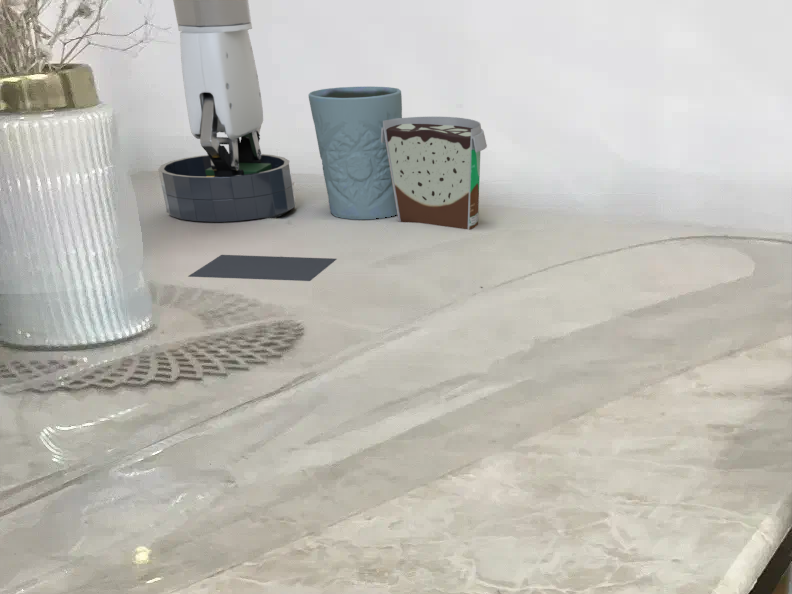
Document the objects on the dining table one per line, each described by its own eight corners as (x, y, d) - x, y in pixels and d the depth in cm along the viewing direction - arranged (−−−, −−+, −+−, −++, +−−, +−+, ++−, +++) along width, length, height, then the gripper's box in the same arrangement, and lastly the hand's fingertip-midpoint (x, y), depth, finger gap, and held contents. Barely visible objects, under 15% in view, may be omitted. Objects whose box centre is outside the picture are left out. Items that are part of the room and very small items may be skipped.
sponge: (211, 209, 128) (204, 169, 125) (227, 200, 131) (221, 162, 129) (262, 210, 127) (256, 171, 124) (276, 202, 130) (271, 163, 128)
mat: (188, 281, 107) (187, 276, 106) (222, 259, 113) (221, 254, 113) (310, 286, 105) (310, 280, 105) (337, 263, 112) (337, 258, 111)
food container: (512, 224, 124) (508, 121, 118) (480, 236, 120) (475, 129, 114) (421, 212, 129) (413, 112, 123) (388, 223, 125) (378, 120, 119)
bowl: (147, 225, 125) (136, 175, 122) (199, 198, 136) (191, 152, 133) (269, 229, 123) (262, 178, 120) (312, 201, 134) (306, 154, 131)
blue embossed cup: (362, 225, 124) (349, 100, 117) (304, 212, 130) (288, 92, 122) (429, 209, 131) (420, 89, 123) (370, 197, 136) (359, 82, 129)
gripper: (211, 6, 125) (241, 187, 136) (142, 20, 112) (181, 220, 123) (276, 6, 124) (300, 189, 135) (214, 20, 111) (247, 222, 122)
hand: (243, 202), depth 129 cm, fingers closed on sponge, 4 cm apart
